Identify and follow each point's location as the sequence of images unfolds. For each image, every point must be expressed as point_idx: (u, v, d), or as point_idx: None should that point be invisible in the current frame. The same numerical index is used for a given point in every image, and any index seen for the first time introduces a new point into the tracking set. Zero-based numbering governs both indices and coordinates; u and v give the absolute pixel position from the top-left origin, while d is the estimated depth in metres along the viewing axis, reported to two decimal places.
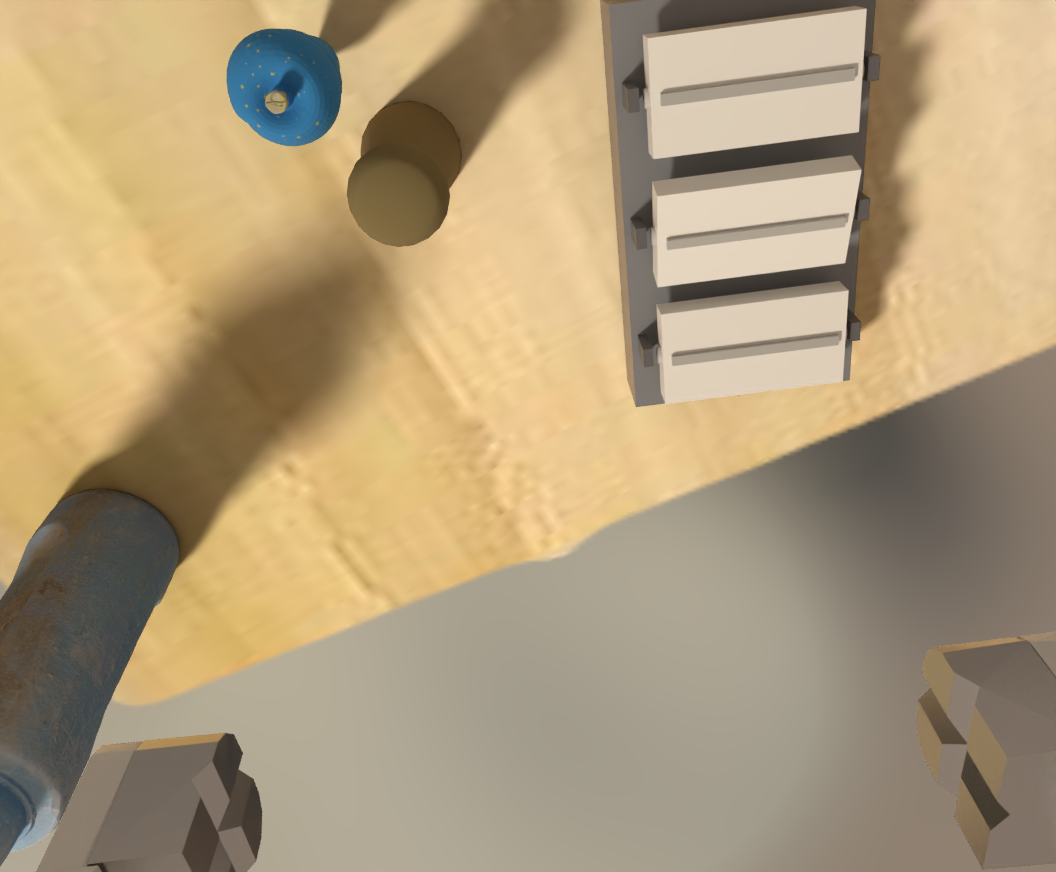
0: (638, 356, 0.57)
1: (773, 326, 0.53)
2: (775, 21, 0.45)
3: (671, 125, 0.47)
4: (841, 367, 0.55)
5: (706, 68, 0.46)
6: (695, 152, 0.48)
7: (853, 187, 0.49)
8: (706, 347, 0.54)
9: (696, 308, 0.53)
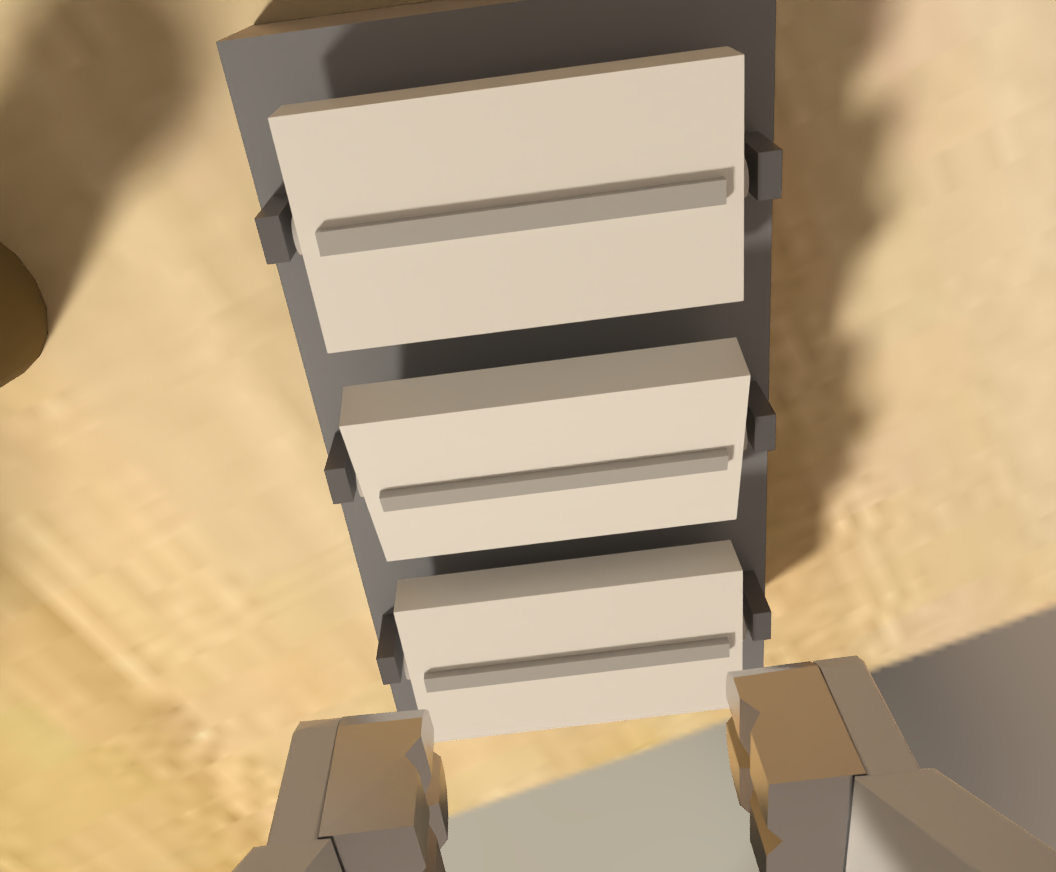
0: None
1: (607, 627, 0.29)
2: (545, 82, 0.21)
3: (352, 290, 0.23)
4: None
5: (407, 180, 0.21)
6: (412, 340, 0.24)
7: (737, 404, 0.24)
8: (487, 660, 0.29)
9: (461, 600, 0.28)
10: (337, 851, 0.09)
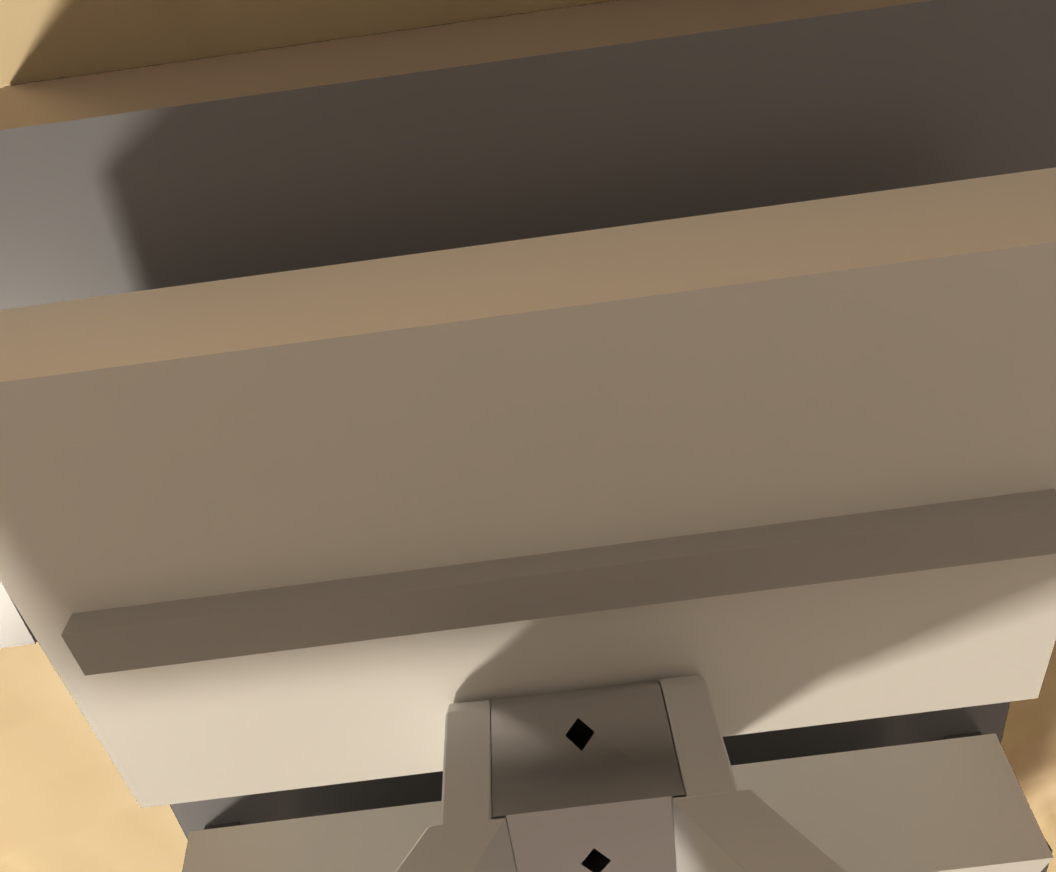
0: None
1: None
2: (636, 298, 0.08)
3: (176, 713, 0.10)
4: None
5: (281, 516, 0.09)
6: (321, 781, 0.11)
7: None
8: None
9: None
10: (510, 831, 0.09)
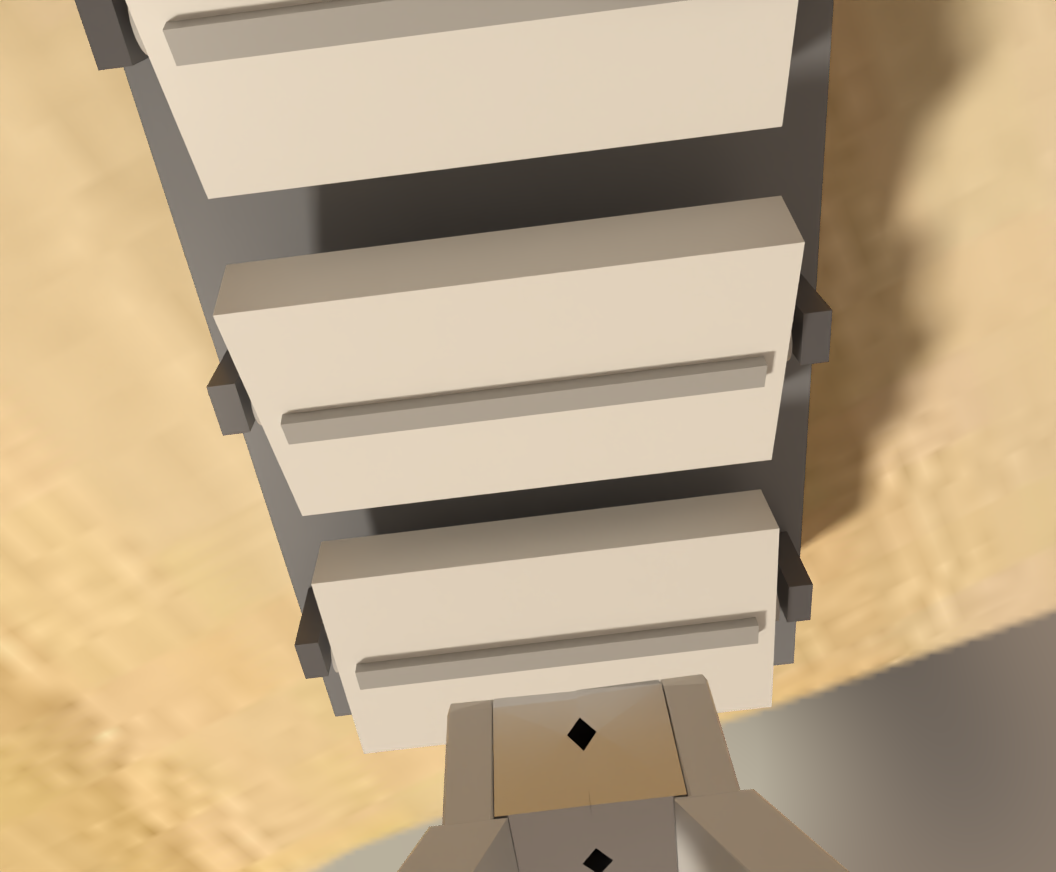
0: None
1: (597, 604, 0.22)
2: None
3: (231, 113, 0.16)
4: (767, 680, 0.23)
5: None
6: (324, 181, 0.17)
7: (783, 289, 0.17)
8: (439, 648, 0.22)
9: (402, 567, 0.21)
10: (512, 831, 0.09)
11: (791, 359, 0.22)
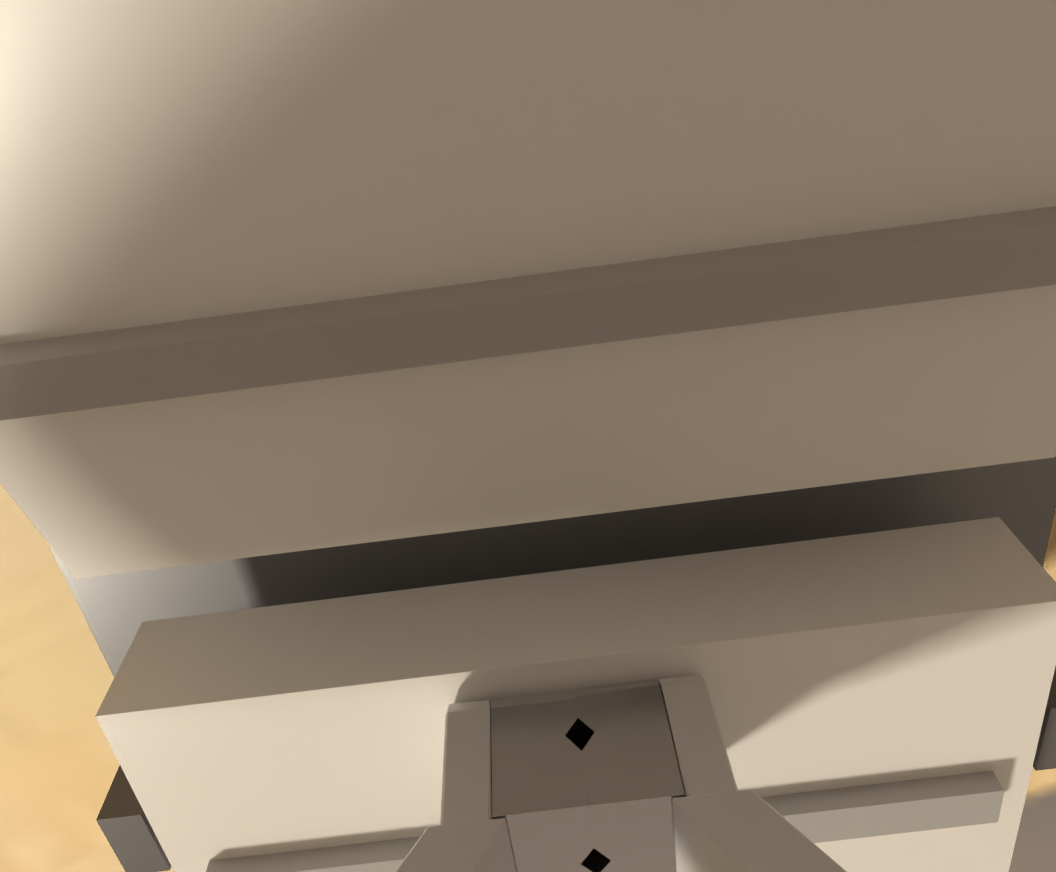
0: None
1: None
2: None
3: None
4: None
5: None
6: None
7: None
8: (368, 832, 0.11)
9: (285, 681, 0.10)
10: (510, 831, 0.09)
11: None
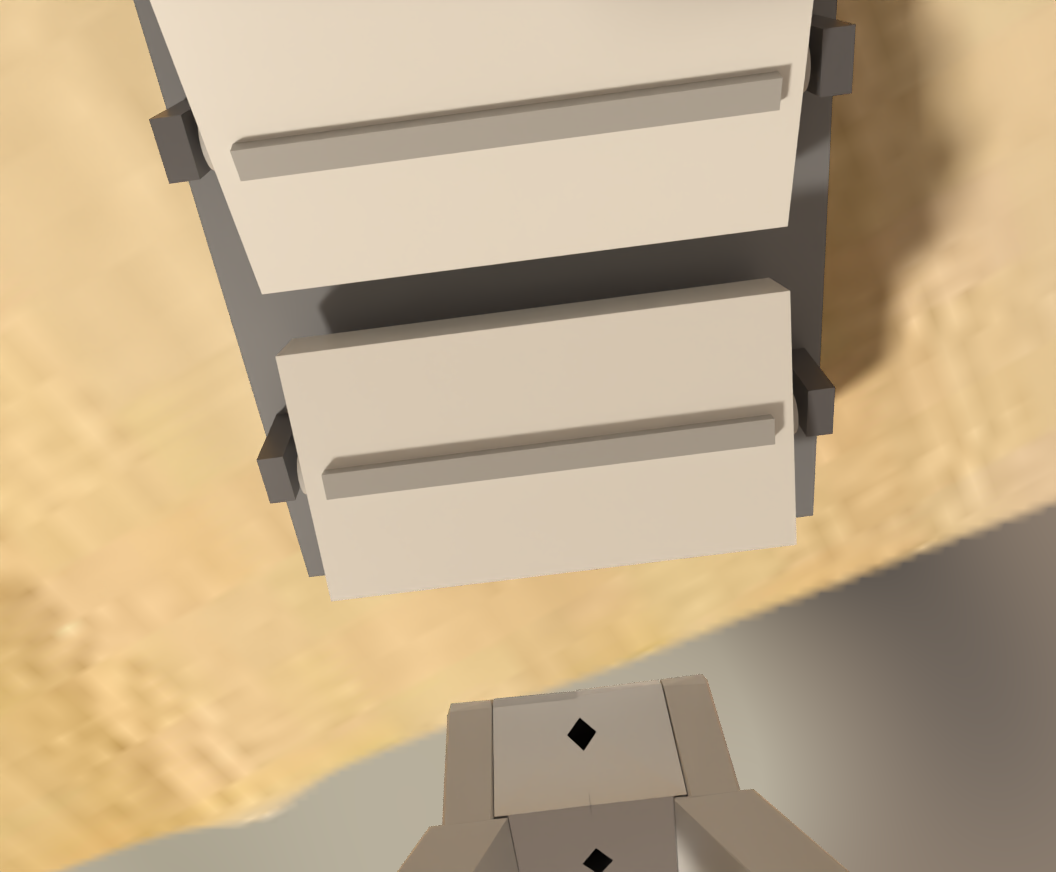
0: None
1: (592, 392, 0.20)
2: None
3: None
4: (789, 506, 0.21)
5: None
6: None
7: None
8: (416, 450, 0.20)
9: (376, 341, 0.19)
10: (512, 831, 0.09)
11: (808, 128, 0.19)
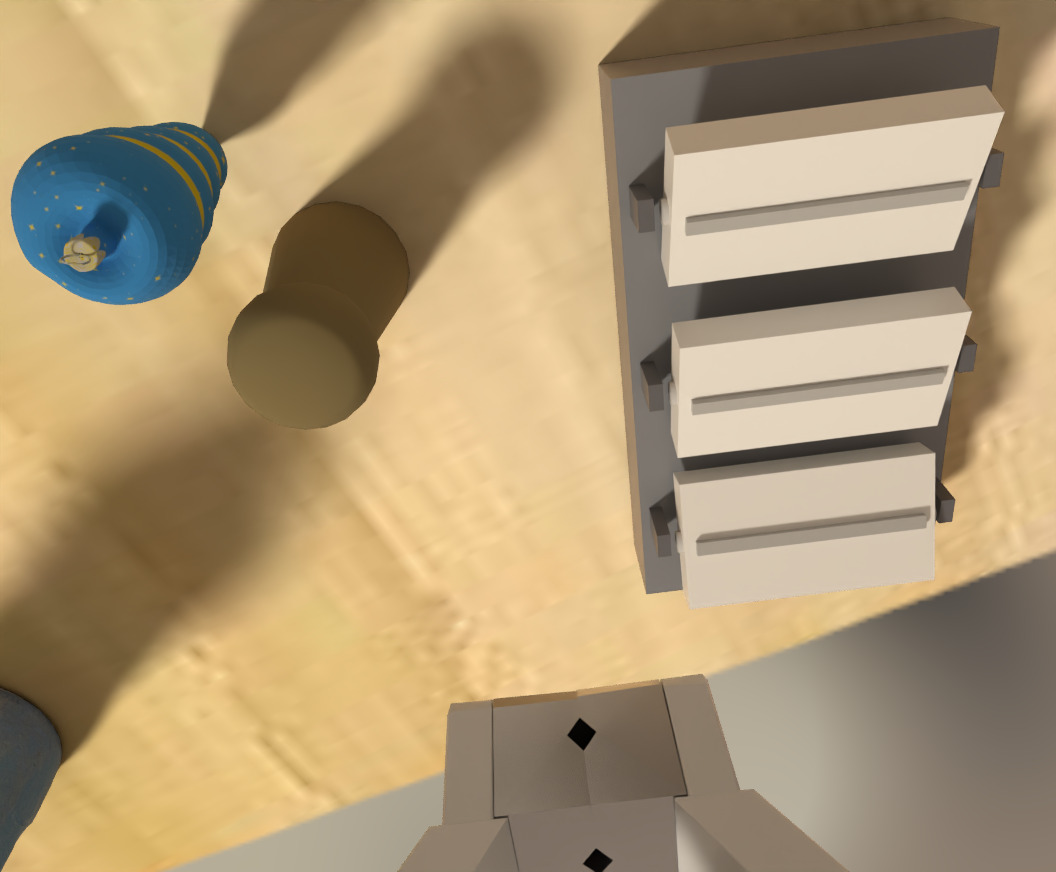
0: (650, 533, 0.42)
1: (834, 502, 0.39)
2: (866, 129, 0.30)
3: (697, 251, 0.33)
4: (931, 559, 0.40)
5: (755, 188, 0.31)
6: (726, 278, 0.35)
7: (958, 333, 0.34)
8: (743, 530, 0.39)
9: (728, 477, 0.39)
10: (512, 831, 0.09)
11: None
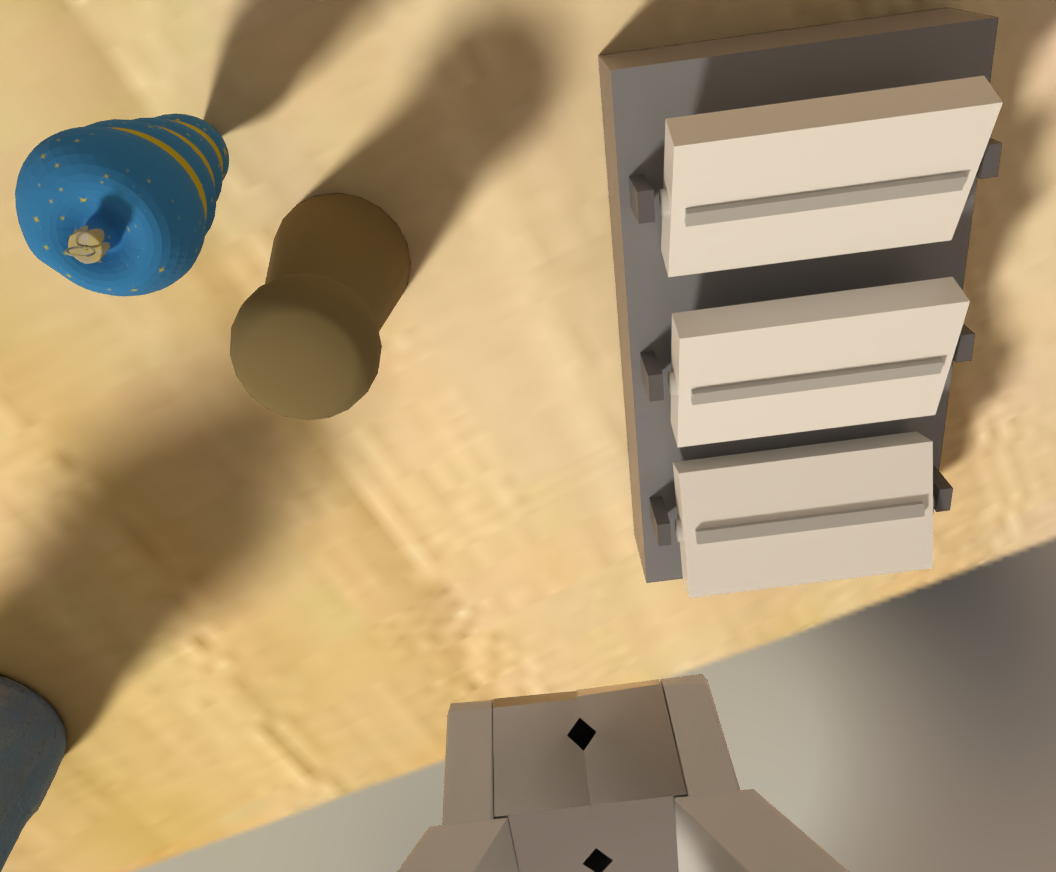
0: (650, 523, 0.43)
1: (832, 490, 0.39)
2: (865, 120, 0.30)
3: (696, 241, 0.34)
4: (929, 548, 0.40)
5: (754, 179, 0.31)
6: (726, 268, 0.35)
7: (956, 323, 0.34)
8: (742, 519, 0.40)
9: (727, 465, 0.39)
10: (512, 831, 0.09)
11: None
